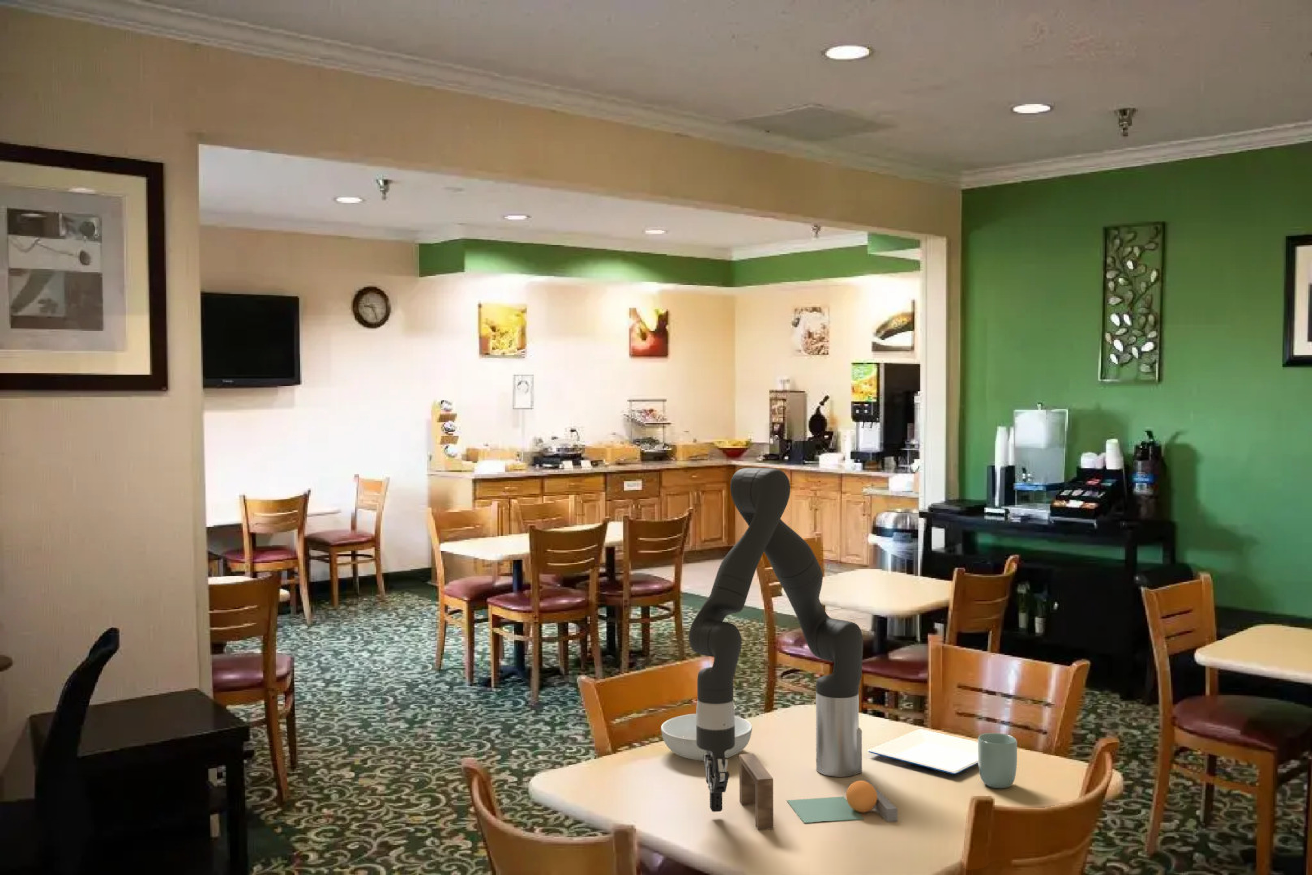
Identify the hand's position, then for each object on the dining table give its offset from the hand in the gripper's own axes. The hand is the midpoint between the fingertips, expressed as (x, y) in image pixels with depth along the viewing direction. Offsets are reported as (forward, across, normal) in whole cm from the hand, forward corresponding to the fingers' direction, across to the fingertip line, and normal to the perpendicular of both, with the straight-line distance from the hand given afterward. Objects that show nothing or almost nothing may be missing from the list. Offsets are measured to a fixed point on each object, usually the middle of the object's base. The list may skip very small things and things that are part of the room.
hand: (716, 809), depth 217 cm
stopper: (+2, 0, -33) cm, 33 cm away
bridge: (+2, 0, -8) cm, 8 cm away
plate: (+2, +27, -57) cm, 63 cm away
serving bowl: (+2, +38, -6) cm, 39 cm away
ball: (-2, -2, -29) cm, 29 cm away
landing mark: (+2, 0, -22) cm, 22 cm away
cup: (+2, +7, -62) cm, 62 cm away
